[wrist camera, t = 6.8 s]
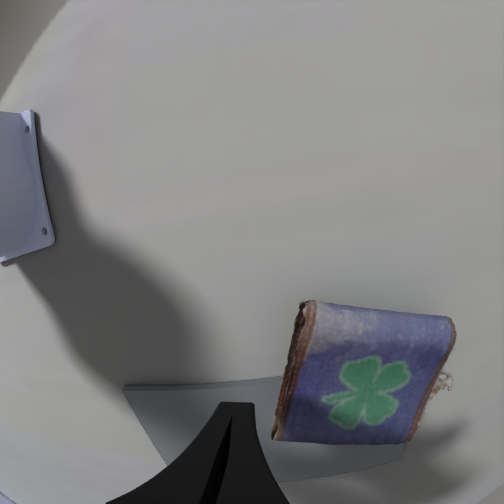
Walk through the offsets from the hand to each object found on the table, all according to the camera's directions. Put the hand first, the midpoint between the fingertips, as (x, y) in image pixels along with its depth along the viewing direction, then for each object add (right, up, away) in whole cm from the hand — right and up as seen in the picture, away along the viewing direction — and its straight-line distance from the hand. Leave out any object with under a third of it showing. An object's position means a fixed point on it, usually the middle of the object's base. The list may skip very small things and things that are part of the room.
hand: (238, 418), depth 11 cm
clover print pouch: (+2, 0, +4) cm, 5 cm away
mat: (+2, -7, +8) cm, 11 cm away
